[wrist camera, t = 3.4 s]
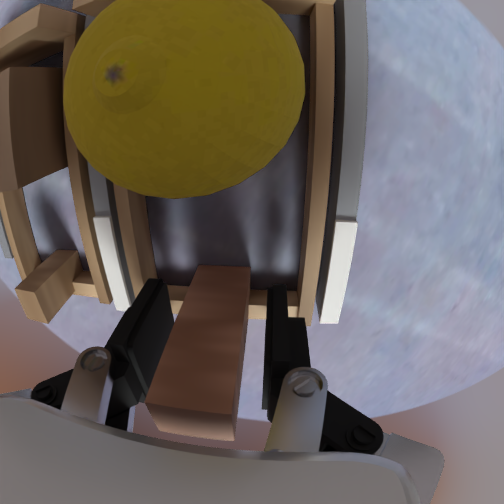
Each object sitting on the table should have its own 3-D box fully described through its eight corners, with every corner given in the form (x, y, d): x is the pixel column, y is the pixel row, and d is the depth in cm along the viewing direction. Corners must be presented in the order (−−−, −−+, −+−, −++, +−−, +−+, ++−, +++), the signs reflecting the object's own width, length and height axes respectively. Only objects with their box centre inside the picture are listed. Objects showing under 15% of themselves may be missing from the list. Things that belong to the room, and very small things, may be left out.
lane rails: (354, 1, 7) (366, -13, 6) (332, 300, 14) (337, 323, 12) (104, 17, 8) (83, 9, 6) (129, 290, 14) (116, 310, 13)
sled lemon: (324, -3, 8) (385, -111, 1) (307, 304, 14) (323, 444, 7) (127, 11, 8) (2, -39, 1) (150, 296, 14) (90, 415, 8)
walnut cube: (79, 69, 9) (9, 67, 5) (83, 160, 11) (18, 189, 7) (18, 92, 9) (-44, 103, 6) (24, 170, 12) (-34, 199, 8)
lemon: (130, 121, 10) (-29, 167, 3) (200, 10, 8) (99, -95, 1) (240, 188, 12) (191, 324, 5) (321, 77, 9) (421, 24, 2)
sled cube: (96, 20, 8) (40, 3, 4) (122, 286, 14) (88, 336, 11) (8, 61, 8) (-45, 65, 5) (40, 277, 15) (4, 314, 11)
